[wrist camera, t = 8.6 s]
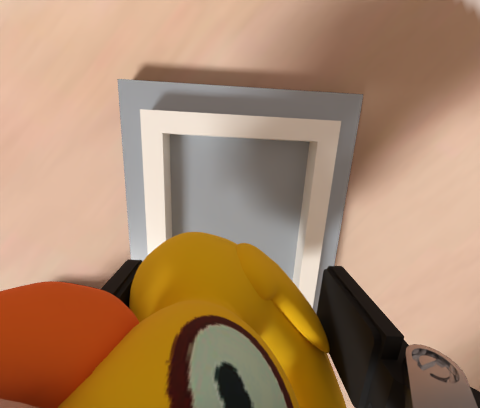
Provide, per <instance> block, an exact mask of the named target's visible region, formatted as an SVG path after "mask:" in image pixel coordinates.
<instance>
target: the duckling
mask: <svg viewBox="0 0 480 408" xmlns="http://www.w3.org/2000/svg"><path fill="white" fill-rule="evenodd" d="M329 352H330V347H329V343H328V339H327V336H326V334H325V331H324V329H323V326H322V324H321V322H320V320H319V318H318V316H317V315H316V313H315V311H314V310H313V308H312V307H311V305H310V304H309V302H308V301H307V300H306V298H305V297H304V295H303V294H302V293H301V291H300V290H299V289H298V288H297V286H296V285H295V284H294V283H293V281H292V280H291V279H290V278H289V277H288V276H287V274H286V273H285V272H284V271H283V270H282V269H281V268H280V266H279V265H278V264H276V263H275V262H274V261H273V260H272V259H271V258H269V257H268V256H267V255H266V254H265V253H264V252H262V251H261V250H260V249H258V248H257V247H255V246H253V245H251V244H248V243H240V244H236V243H234V242H232V241H230V240H228V239H225V238H222V237H219V236H216V235H213V234H208V233H203V232H186V233H182V234H179V235H176V236H174V237H172V238H170V239H168V240H166V241H165V242H163V243H162V244H161V245H159V246H158V247H157V248H155V249H154V250H153V251H152V252H151V253H150V254H149V255H147V257H146V258H145V259H144V260H143V262H142V263H141V264H140V266H139V267H138V269H137V271H136V274H135V276H134V279H133V282H132V285H131V290H130V298H129V308H128V307H127V306H126V305H125V304H124V303H123V302H122V301H121V300H120V299H118V298H117V297H116V296H114V295H112V294H111V293H109V292H106V291H104V290H100V289H97V288H92V287H88V286H83V285H78V284H72V283H66V282H40V283H34V284H30V285H25V286H20V287H16V288H12V289H8V290H4V291H0V399H4V400H10V401H14V402H20V403H24V404H28V405H31V406H35V407H40V408H346V405H345V401H344V398H343V395H342V393H341V390H340V387H339V384H338V382H337V379H336V376H335V374H334V371H333V368H332V366H331V363H330V361H329V358H328V355H327V353H329Z"/></svg>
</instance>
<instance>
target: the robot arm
mask: <svg viewBox="0 0 480 408" xmlns="http://www.w3.org/2000/svg"><path fill="white" fill-rule="evenodd" d="M142 262H143V261H142V260H127V261H126V262H125V263H124V264H123V265H122V266H121V268H120V269H119V270H118V271H117V272H116V273H115V274H114V275H113V276H112V278H111V279H110V280H109V281H108V282H107V283H106V284H105V285H104V286H103V287H102V289H101V290H104V291H106V292H109V293H111V294H112V295H114V296H116V297H117V298H118V299H120V300H121V301H122V302H123V303H124V304H125V305H126V306H127V307H128V308H129V298H130V290H131V285H132V282H133V279H134V276H135V274H136V271H137V269H138V267H139V266H140V264H141V263H142ZM316 315H317V316H318V318H319V320H320V322H321V324H322V326H323V329H324V331H325V334H326V336H327V339H328V343H329V347H330V352H329V354H330V356H331V358H332V360H333V363H334V365H335V367H336V369H337V371H338V374H339V376H340V378H341V380H342V382H343V385H344V387H345V389H346V391H347V393H348V395H349V398H350V400H351V402H352V404H353V406H354V407H355V408H480V392H479V391H477V390H475V389H473V388H472V387H470V386H469V383H468V381H467V378H466V376H465V375H464V373H463V371H462V370H461V369H460V368H459V366H458V365H457V364H456V363H455V362H453V361H452V360H451V359H450V358H448V357H447V356H445V355H444V354H442V353H441V352H439V351H437V350H435V349H432V348H430V347H427V346H424V345H417V344H413V345H408V344H407V343H406V342H405V340H404V336H403V335H402V333H401V332H400V331H399V330H398V329H397V328H396V327H395V326H394V324H393V323H392V322H391V321H390V320H389V319H388V318H387V316H386V315H385V314H384V313H383V312H382V311H381V310H380V309H379V307H378V306H377V305H376V304H375V303H374V302H373V301H372V300H371V298H370V297H369V296H368V295H367V294H366V293H365V292H364V290H363V289H362V288H361V287H360V286H359V285H358V284H357V283H356V281H355V280H354V279H353V278H352V277H351V276H350V275H349V274H348V272H347V271H346V270H345V269H344V268H343V267H342V266H328V268H327V269H324V271H323V277H322V283H321V289H320V295H319V301H318V307H317V313H316ZM0 408H40V407H35V406H31V405H28V404H24V403H20V402H14V401H10V400H4V399H0Z"/></svg>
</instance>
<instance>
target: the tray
mask: <svg viewBox="0 0 480 408" xmlns="http://www.w3.org/2000/svg"><path fill="white" fill-rule="evenodd" d="M118 92H119V106H120V119H121V132H122V146H123V159H124V173H125V186H126V200H127V213H128V227H129V240H130V254H131V260H142V261H143V260H144V259H145V258H146V257H147V255H149V254H150V253H151V252H152V251H153V250H154V249H155V248H157V247H158V246H159V245H161V244H162V243H163V242H165V241H166V240H168V239H170V238H172V237H174V236H176V235H179V234H182V233H186V232H203V233H208V234H213V235H216V236H219V237H222V238H225V239H228V240H230V241H232V242H234V243H236V244H240V243H248V244H251V245H253V246H255V247H257V248H258V249H260V250H261V251H262V252H264V253H265V254H266V255H267V256H268V257H269V258H271V259H272V260H273V261H274V262H275V263H276V264H278V265H279V266H280V268H281V269H282V270H283V271H284V272H285V273H286V274H287V276H288V277H289V278H290V279H291V280H292V281H293V283H294V284H295V285H296V286H297V288H298V289H299V290H300V291H301V293H302V294H303V295H304V297H305V298H306V300H307V301H308V302H309V304H310V305H311V307H312V308H313V310H314V311H315V313H317V307H318V301H319V295H320V289H321V283H322V277H323V271H324V269H327V268H328V266H334V264H335V258H336V252H337V246H338V240H339V235H340V229H341V223H342V217H343V211H344V205H345V199H346V194H347V188H348V182H349V176H350V170H351V164H352V159H353V153H354V147H355V141H356V135H357V129H358V123H359V118H360V112H361V106H362V100H363V94H348V93H332V92H316V91H300V90H285V89H269V88H253V87H237V86H221V85H205V84H189V83H173V82H158V81H142V80H126V79H118Z"/></svg>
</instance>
